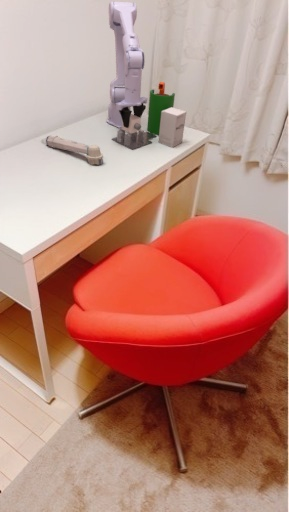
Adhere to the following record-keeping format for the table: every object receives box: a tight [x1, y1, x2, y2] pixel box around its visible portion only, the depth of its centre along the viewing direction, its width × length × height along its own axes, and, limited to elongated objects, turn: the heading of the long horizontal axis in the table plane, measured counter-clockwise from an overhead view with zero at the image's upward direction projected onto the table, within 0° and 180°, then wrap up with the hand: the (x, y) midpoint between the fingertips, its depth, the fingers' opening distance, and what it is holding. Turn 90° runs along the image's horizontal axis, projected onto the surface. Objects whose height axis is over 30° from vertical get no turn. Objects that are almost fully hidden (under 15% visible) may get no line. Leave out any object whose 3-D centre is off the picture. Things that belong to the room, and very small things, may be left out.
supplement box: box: [157, 106, 187, 148], centre depth 141 cm, size 7×7×13 cm
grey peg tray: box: [111, 127, 158, 151], centre depth 143 cm, size 12×17×4 cm
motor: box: [146, 81, 176, 136], centre depth 147 cm, size 10×9×20 cm
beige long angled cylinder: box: [45, 135, 104, 166], centre depth 129 cm, size 5×7×25 cm
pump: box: [122, 113, 142, 134], centre depth 137 cm, size 7×5×5 cm
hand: (131, 125), depth 138 cm, fingers closed on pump, 5 cm apart
